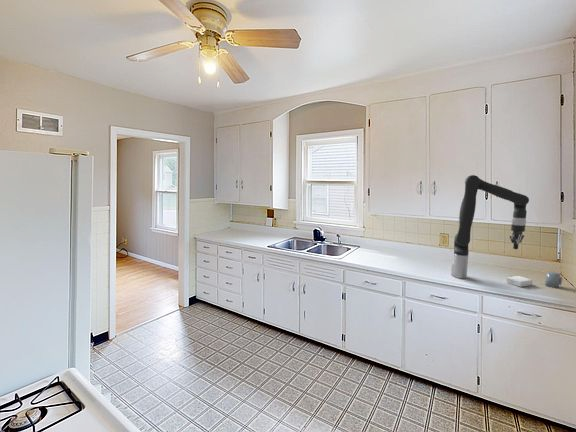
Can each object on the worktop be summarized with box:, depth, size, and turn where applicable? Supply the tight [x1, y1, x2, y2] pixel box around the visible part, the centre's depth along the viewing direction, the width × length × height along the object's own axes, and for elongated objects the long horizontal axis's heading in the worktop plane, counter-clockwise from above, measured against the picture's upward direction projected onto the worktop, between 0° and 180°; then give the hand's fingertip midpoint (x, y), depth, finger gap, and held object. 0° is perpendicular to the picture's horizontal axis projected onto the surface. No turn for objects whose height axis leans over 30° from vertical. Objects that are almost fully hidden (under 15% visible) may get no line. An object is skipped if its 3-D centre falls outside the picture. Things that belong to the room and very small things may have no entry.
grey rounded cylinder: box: [544, 271, 563, 289], centre depth 203 cm, size 8×7×9 cm
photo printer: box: [506, 275, 534, 288], centre depth 208 cm, size 10×4×12 cm
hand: (515, 249), depth 206 cm, fingers closed
